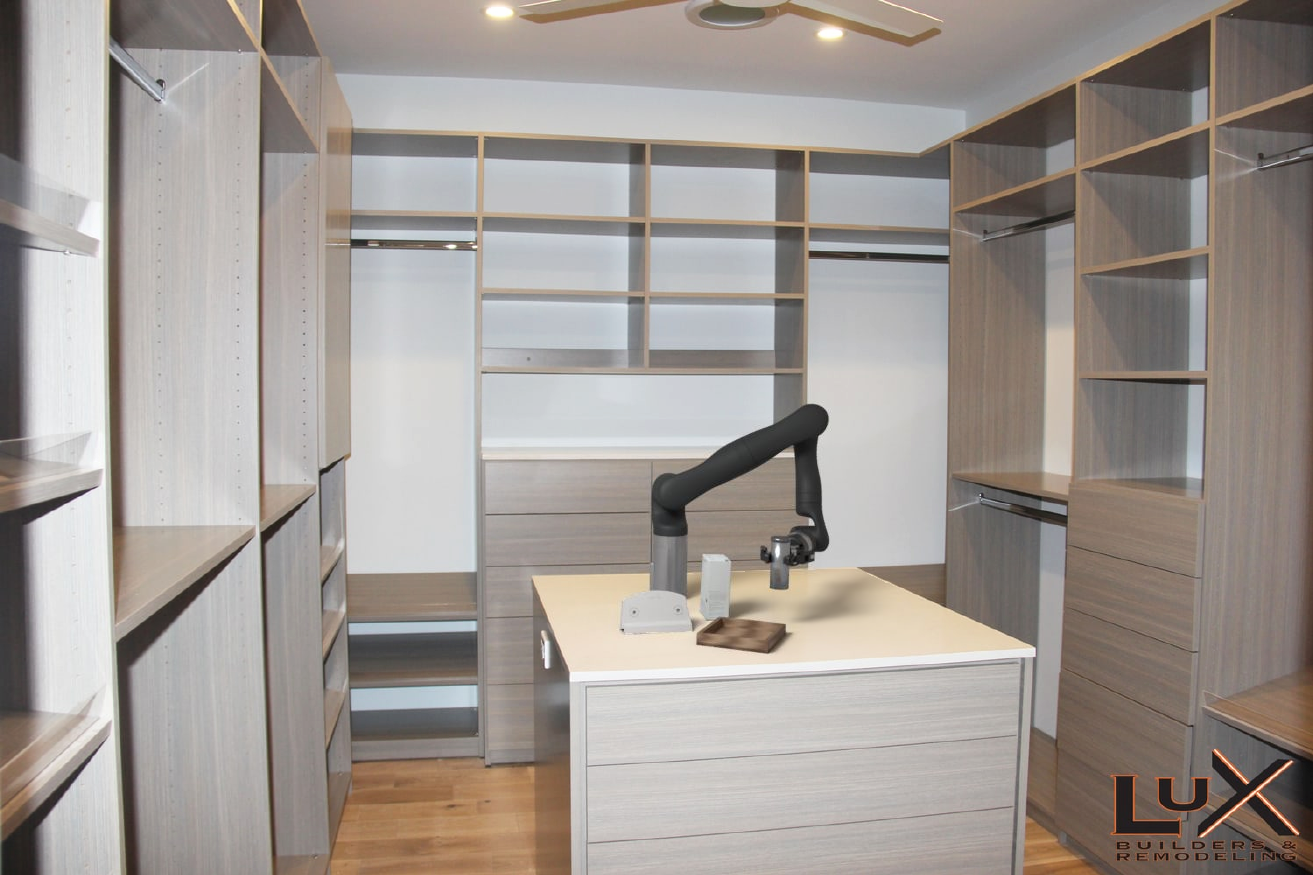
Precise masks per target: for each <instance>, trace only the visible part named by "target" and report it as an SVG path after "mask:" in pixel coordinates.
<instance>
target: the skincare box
mask: <svg viewBox="0 0 1313 875" xmlns="http://www.w3.org/2000/svg"><path fill="white" fill-rule="evenodd" d="M701 558H702V561H701V580H700V581H701V582H700V599H699V600H700V601H699V602H700V603H699V613H700V614H702V616H703V618H704V619H705V620H706V621H714V620H715V619H716V618H718V617H719V616H720V617H729V618H730V599H731V598H730V596H731V580H732V577H731V576H732V561H731V560H730V559H729V557H728V556H726V555H725V554H722V553H720V554H719V553H716V554H714V553H710V554H708V553H703V554H702V557H701Z"/></svg>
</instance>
